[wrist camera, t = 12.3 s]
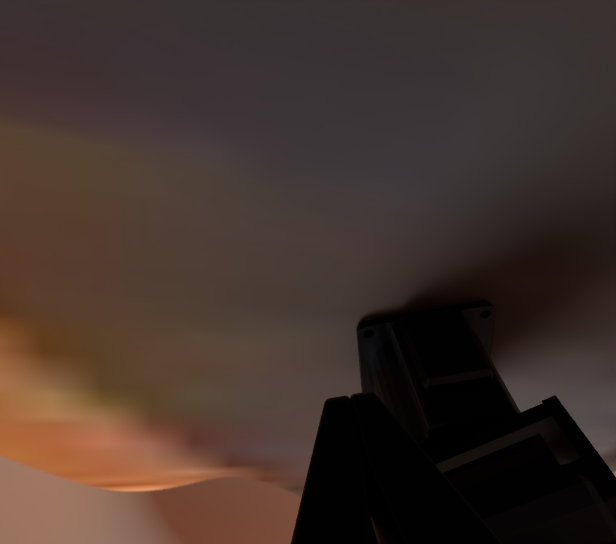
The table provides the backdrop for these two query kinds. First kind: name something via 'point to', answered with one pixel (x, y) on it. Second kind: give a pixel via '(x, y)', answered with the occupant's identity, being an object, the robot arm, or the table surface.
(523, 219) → the table surface
